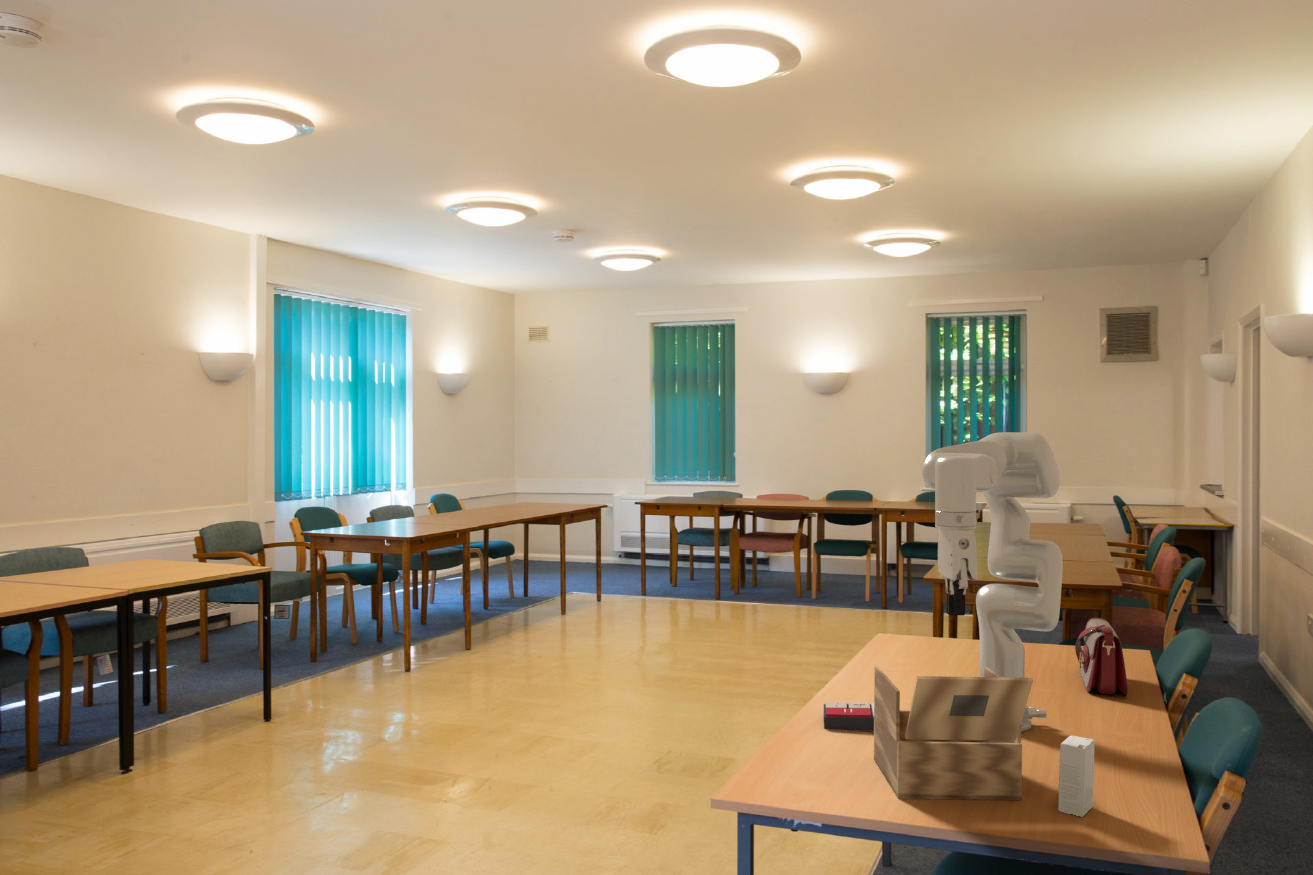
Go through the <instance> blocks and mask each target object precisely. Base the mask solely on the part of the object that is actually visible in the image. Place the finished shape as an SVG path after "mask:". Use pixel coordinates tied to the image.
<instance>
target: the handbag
mask: <svg viewBox="0 0 1313 875" xmlns="http://www.w3.org/2000/svg"><path fill="white" fill-rule="evenodd" d="M1081 639H1083V646H1082V644H1081ZM1082 647H1083V648H1082ZM1074 649H1075V655H1076V658H1077V661H1078V663H1079V674H1080V677H1081V680H1082V682H1083V685H1084V687H1085V690H1086V692H1087V693H1090V692H1091V690H1092V689H1094V687H1096V691H1097V692H1098V693H1099V694H1102V695H1114V694H1115V693H1116V691H1117V687H1118V689H1119V691H1120V692H1121V693H1122V694H1123V695H1124V696H1125V697H1126V696H1127V695H1128V692H1129V689H1128V688H1129V687H1128V679H1127V671H1126V664H1125V657H1124V652H1123V646H1122V642H1121V640H1120V637H1119V636H1118V634H1117V633H1116V631H1115V630H1114V628H1113V627H1112V625H1111V624H1110V622H1109V621H1107V620H1106V619H1104V618H1100V617H1091V618H1090V619H1088V620H1087V622H1086V623H1085V628H1084V630H1083V631H1081V633H1080V634H1079V635H1078V638H1077V640H1076V642H1075V645H1074Z"/></svg>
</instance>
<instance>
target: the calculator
mask: <svg viewBox="0 0 1313 875" xmlns="http://www.w3.org/2000/svg"><path fill="white" fill-rule="evenodd" d="M823 729H824V730H833V731H835V730H836V731H848V732H849V731H852V732H853V731H854V732H873V733H874V702H872V703H870V702H869V701H864V702H863V701H849V702H847V701H825V703H824V704H823Z"/></svg>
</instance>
